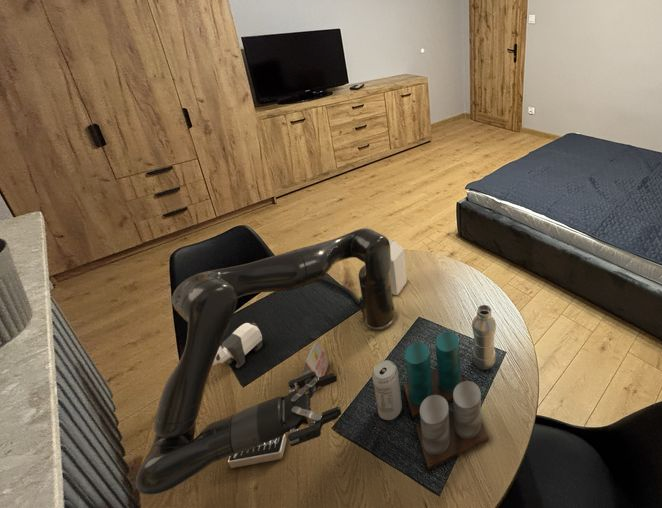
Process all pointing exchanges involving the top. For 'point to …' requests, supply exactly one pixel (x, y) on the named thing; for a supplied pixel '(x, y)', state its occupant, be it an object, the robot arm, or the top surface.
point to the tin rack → (451, 424)
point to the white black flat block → (259, 453)
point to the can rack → (437, 381)
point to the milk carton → (397, 268)
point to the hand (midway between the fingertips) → (338, 392)
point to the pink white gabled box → (316, 362)
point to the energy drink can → (387, 390)
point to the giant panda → (239, 344)
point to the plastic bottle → (484, 338)
